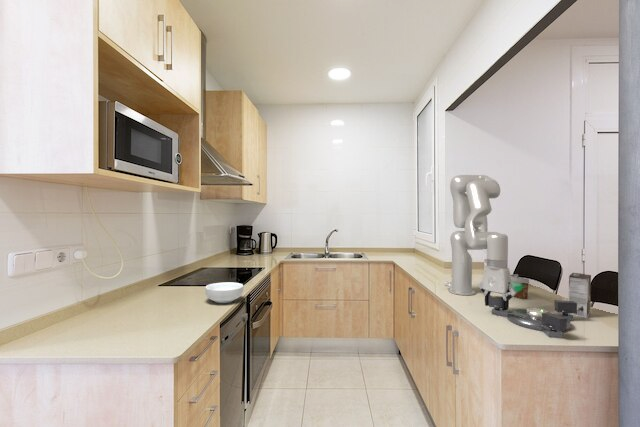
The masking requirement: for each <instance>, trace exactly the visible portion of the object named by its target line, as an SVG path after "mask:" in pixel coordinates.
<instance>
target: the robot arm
mask: <svg viewBox="0 0 640 427" xmlns="http://www.w3.org/2000/svg"><path fill="white" fill-rule="evenodd" d="M500 186H501V185H500V184H499V182H498V181H496V180H495V179H494V178H492V177H490V176H488V175H484V174H480V175H479V174H459V175H455V176H453V177H452V178H451V180H450V184H449V190H450V195H451V198H452V202H453V203H452V205H453V206H452V208H453V213H452V214H453V215H452V216H453V225H454V226H455V227H456V228H460V229H464V230H457V231H454V232H452V233H451V235H450V239H449V240H450V246H451V281H450V282H448V281H444V286H445V287H448V292H449V293H450V294H454V295H459V296H474V295H476V290H474V289H473V288H472V287H473V283H472V282H473V257H472V255H471V254H470V252H469V251H470V250H471V251H472V250H479V251H480V250H482V251H483V250H486V258H485V259H484V263H486V265H484V268H483V272H482V278H481V282H480V283H478V285H477V286H478V288H479V289H480V291H481V292H482V294H483V296H484V306H486V307H489V306H488V295H490V296H492V295H491V293H496V294H501V296H502V297H503V299H504V300H502V308H501V309H502V310H503V311H504V310H509V307H510V306H509V304H510V302H509V301H510V300H511V299H513V298H514V297H513V296H515V295H516V294H517V292H516V291H515V290H514V288H513V287H512V286H511V276H510V275H511V271H510V268H509V267H508V266H509V265H508V262H509V259H508V258H509V257H508V256H509V237H508V234H505V233H501V232H498V231H488V215H490V214H491V212H492V209H493V208H492V205H491V201H490V199H497V198H499V196H500V195H501V187H500Z"/></svg>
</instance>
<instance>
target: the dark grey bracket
mask: <svg viewBox="0 0 640 427" xmlns="http://www.w3.org/2000/svg"><path fill="white" fill-rule="evenodd" d="M490 295H491V294H490ZM490 295H488V306H487V307H489V308H501V309H502V300H504V299H503V297H502V295H491V296H490Z"/></svg>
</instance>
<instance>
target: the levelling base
mask: <svg viewBox="0 0 640 427" xmlns="http://www.w3.org/2000/svg"><path fill="white" fill-rule="evenodd" d="M553 308H554V311H555V312H556V313H555V312H554V313H552V312H549V311H548V310H547V309H544V308H538V307H528V308H526V309H524V308H523V309H522V308H516V309H510V310H509V309H508V310H504V311H503V310H502V308H494V307H492V309H491V315H494V316H498V317H503V318H506V319H507V320H508V322H510V323H512V324H513V325H517V326H519V327H522V328H526V329H530V330H533V331H539V332H542V333H543V334H545V335H546V336H547V337H548V338H555V339H563V333H565V332H568V331H570V330H571V322H573V321H574V315H570V314H571V313H575V314H577V303H576V302H574V301H569V300H561V299H559V300H558V299H554V307H553ZM568 313H569V314H568Z"/></svg>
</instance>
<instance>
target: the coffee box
mask: <svg viewBox="0 0 640 427" xmlns="http://www.w3.org/2000/svg"><path fill="white" fill-rule="evenodd" d="M591 276H592V275H591V274H585V273H580V272H579V273H578V272H572V273H571V274H569V276H568V279H569V280H568V301H574V302H576V303H577V314H575V313H571V314H570V315H573V317H574V316H575V317H580V318H586V319H587V318H589V316H590V314H591V302H592V301H591V298H592V297H591V295H592V293H591V292H592V286H591V285H592V284H591V283H592V277H591ZM568 314H569V313H568Z"/></svg>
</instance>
